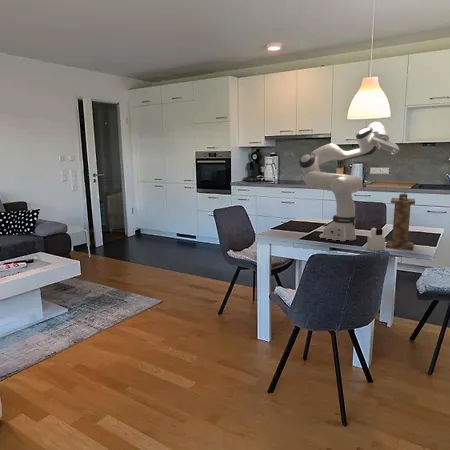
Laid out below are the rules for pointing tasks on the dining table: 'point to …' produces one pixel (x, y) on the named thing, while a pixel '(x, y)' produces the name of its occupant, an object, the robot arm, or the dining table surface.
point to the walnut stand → (401, 224)
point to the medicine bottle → (376, 240)
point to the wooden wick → (403, 196)
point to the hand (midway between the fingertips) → (386, 151)
